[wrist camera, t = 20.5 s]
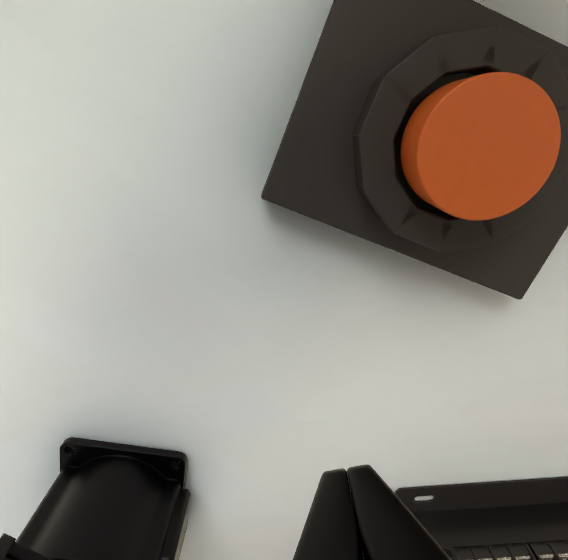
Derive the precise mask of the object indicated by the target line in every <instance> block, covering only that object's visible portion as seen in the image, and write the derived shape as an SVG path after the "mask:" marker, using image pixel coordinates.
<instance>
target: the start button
mask: <svg viewBox="0 0 568 560" xmlns="http://www.w3.org/2000/svg"><path fill="white" fill-rule="evenodd" d="M560 140H561V129H560V121H559V117H558V114H557V110H556V108H555V106H554V104H553V102H552V100H551V99H550V97H549V96H548V94H547V93H546V92H545V91H544V90H543V89H542V88H541V87H540V86H539V85H537V84H536V83H535V82H533V81H532V80H530V79H528V78H526V77H524V76H521V75H518V74H514V73H509V72H490V73H485V74H481V75H477V76H473V77H469V78H465V79H461V80H457V81H454V82H451V83H448V84H446V85H444V86H442V87H440V88H438V89H437V90H435V91H434V92H432V93H431V94H430V95H429V96H427V97H426V98H425V99H424V100H423V101H422V102H421V103H420V104H419V106H418V107H417V108H416V110H415V111H414V112H413V114H412V115H411V117H410V119H409V121H408V123H407V125H406V128H405V130H404V134H403V138H402V143H401V164H402V169H403V172H404V175H405V178H406V180H407V182H408V184H409V185H410V187H411V188H412V189H413V191H414V192H415V193H416V194H417V195H418V196H419V197H420V198H421V199H423V200H424V201H426V202H427V203H429V204H431V205H433V206H435V207H436V208H438V209H440V210H442V211H444V212H446V213H448V214H450V215H452V216H454V217H457V218H460V219H465V220H476V221H479V220H489V219H493V218H497V217H500V216H503V215H506V214H508V213H510V212H512V211H514V210H516V209H517V208H519V207H521V206H522V205H524V204H525V203H526V202H527V201H529V200H530V199H531V198H532V197H533V196H534V195H535V194H536V193H537V192H538V191H539V190H540V188H541V187H542V186H543V185H544V183H545V182H546V180H547V179H548V177H549V175H550V174H551V172H552V170H553V168H554V165H555V162H556V160H557V156H558V153H559V148H560Z"/></svg>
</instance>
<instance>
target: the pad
mask: <svg viewBox="0 0 568 560" xmlns="http://www.w3.org/2000/svg"><path fill="white" fill-rule="evenodd" d="M490 72H509V73H514V74H518V75H521V76H524V77H526V78H528V79H530V80H532V81H533V82H535V83H536V84H537V85H539V86H540V87H541V88H542V89H543V90H544V91H545V92H546V93H547V94H548V96H549V97H550V99H551V100H552V102H553V104H554V106H555V108H556V110H557V114H558V117H559V121H560V129H561V140H560V148H559V153H558V156H557V160H556V162H555V165H554V168H553V170H552V172H551V174H550V175H549V177H548V179H547V180H546V182H545V183H544V185H543V186H542V187H541V188H540V190H539V191H538V192H537V193H536V194H535V195H534V196H533V197H532V198H531V199H530V200H529V201H527V202H526V203H525V204H524V205H522V206H521V207H519V208H517V209H516V210H514V211H512V212H510V213H508V214H506V215H503V216H500V217H497V218H493V219H489V220H479V221H476V220H465V219H460V218H457V217H454V216H452V215H450V214H448V213H446V212H444V211H442V210H440V209H438V208H436V207H435V206H433V205H431V204H429V203H427V202H426V201H424V200H423V199H421V198H420V197H419V196H418V195H417V194H416V193H415V192H414V191H413V189H412V188H411V187H410V185H409V184H408V182H407V180H406V178H405V175H404V172H403V169H402V164H401V143H402V138H403V134H404V130H405V128H406V125H407V123H408V121H409V119H410V117H411V115H412V114H413V112H414V111H415V110H416V108H417V107H418V106H419V104H420V103H421V102H422V101H423V100H424V99H425V98H426V97H427V96H429V95H430V94H431V93H432V92H434V91H435V90H437V89H438V88H440V87H442V86H444V85H446V84H448V83H451V82H454V81H457V80H461V79H465V78H469V77H473V76H477V75H481V74H485V73H490ZM261 198H262V199H264V200H267V201H269V202H272V203H275V204H277V205H280V206H282V207H285V208H287V209H290V210H292V211H295V212H297V213H300V214H303V215H305V216H308V217H310V218H313V219H315V220H318V221H320V222H323V223H325V224H328V225H330V226H333V227H336V228H338V229H341V230H343V231H346V232H348V233H351V234H353V235H356V236H358V237H361V238H364V239H366V240H369V241H371V242H374V243H376V244H379V245H381V246H384V247H386V248H389V249H392V250H394V251H397V252H399V253H402V254H404V255H407V256H409V257H412V258H414V259H417V260H420V261H422V262H425V263H427V264H430V265H432V266H435V267H437V268H440V269H442V270H445V271H448V272H450V273H453V274H455V275H458V276H460V277H463V278H465V279H468V280H470V281H473V282H476V283H478V284H481V285H483V286H486V287H488V288H491V289H493V290H496V291H498V292H501V293H504V294H506V295H509V296H511V297H514V298H516V299H522V298H523V296H524V294H525V293H526V291H527V290H528V288H529V286H530V285H531V283H532V282H533V280H534V278H535V277H536V275H537V274H538V272H539V271H540V269H541V267H542V266H543V264H544V263H545V261H546V259H547V258H548V256H549V255H550V253H551V251H552V250H553V248H554V247H555V245H556V244H557V242H558V240H559V239H560V237H561V236H562V234H563V232H564V231H565V229H566V228H567V226H568V47H567V46H565V45H563V44H561V43H559V42H557V41H554V40H552V39H550V38H548V37H546V36H544V35H542V34H540V33H538V32H536V31H534V30H532V29H530V28H528V27H526V26H524V25H522V24H520V23H518V22H516V21H513V20H511V19H509V18H507V17H505V16H503V15H501V14H499V13H497V12H495V11H493V10H491V9H489V8H487V7H485V6H483V5H481V4H479V3H477V2H474V1H472V0H334V1H333V4H332V7H331V10H330V12H329V15H328V18H327V20H326V23H325V26H324V28H323V31H322V34H321V36H320V39H319V42H318V44H317V47H316V50H315V52H314V55H313V58H312V60H311V63H310V66H309V69H308V71H307V74H306V77H305V79H304V82H303V85H302V87H301V90H300V93H299V95H298V98H297V101H296V103H295V106H294V109H293V111H292V114H291V117H290V119H289V122H288V125H287V128H286V130H285V133H284V136H283V138H282V141H281V144H280V146H279V149H278V152H277V154H276V157H275V160H274V162H273V165H272V168H271V170H270V173H269V176H268V178H267V181H266V184H265V187H264V189H263V192H262V195H261Z"/></svg>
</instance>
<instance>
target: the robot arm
mask: <svg viewBox="0 0 568 560" xmlns="http://www.w3.org/2000/svg"><path fill="white" fill-rule="evenodd" d="M70 447H72V448H73V449H71V448H70ZM175 461H179V462H180V463H177V462H175ZM186 467H187V457H186V455H185V454H184V453H182V452H179V451H171V450H164V449H156V448H149V447H141V446H133V445H126V444H118V443H111V442H103V441H95V440H88V439H80V438H67V439H66V440H65V441H64V442H63V444H62V445H61V447H60V474H59V475H58V477H57V479H56V480H55V482H54V483H53V485H52V486H51V488H50V489H49V491H48V493H47V494H46V496H45V497H44V499H43V500H42V502H41V503H40V505H39V507H38V508H37V510H36V511H35V513H34V514H33V516H32V517H31V519H30V521H29V522H28V524H27V525H26V527H25V528H24V530H23V531H22V533H21V535H20V536H19V538H18V539H17V541H16V542H15V540H16V539H15V538H13V537H11V536H9V535H7V534H5V533H4V534H3V535H2V537H1V538H0V560H179V557H180V553H181V549H182V545H183V540H184V536H185V532H186V528H187V522H188V514H189V506H190V497H191V493H190V491H189V489H186V488H184V484H185V475H186ZM347 475H348V476H347ZM348 480H349V481H348ZM349 485H350V486H349ZM350 490H351V491H350ZM362 552H363V553H362ZM363 557H364V558H363ZM293 560H452V559H451V558H450V557H449V556H448V555H447V554H446V552H445V551H444V550H443V549H442V548H441V547H440V545H439V544H438V543H437V542H436V541H435V540H434V539H433V537H432V536H431V535H430V534H429V533H428V532H427V530H426V529H425V528H424V527H423V526H422V525H421V523H420V522H419V521H418V520H417V519H416V518H415V517H414V515H413V514H412V513H411V512H410V511H409V510H408V508H407V507H406V506H405V505H404V504H403V503H402V502H401V500H400V499H399V498H398V497H397V496H396V495H395V493H394V492H393V491H392V490H391V489H390V488H389V486H388V485H387V484H386V483H385V482H384V481H383V480H382V478H381V477H380V476H379V475H378V474H377V473H376V471H375V470H374V469H373V468H372V467H371V466H370V465H360V466H354V467H350V468H348V470H347V472H346V470H345V469H337V470H331V471H326V472H324V473H323V474H322V477H321V479H320V482H319V485H318V488H317V491H316V494H315V497H314V500H313V503H312V506H311V508H310V511H309V514H308V517H307V520H306V523H305V526H304V529H303V532H302V535H301V538H300V540H299V543H298V546H297V549H296V552H295V555H294V558H293Z"/></svg>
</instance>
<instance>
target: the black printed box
mask: <svg viewBox="0 0 568 560" xmlns="http://www.w3.org/2000/svg"><path fill="white" fill-rule="evenodd" d="M395 495H396V496H397V497H398V498H399V499H400V500H401V502H402V503H403V504H404V505H405V506H406V507H407V508H408V510H409V511H410V512H411V513H412V514H413V515H414V517H415V518H416V519H417V520H418V521H419V522H420V523H421V525H422V526H423V527H424V528H425V529H426V530H427V532H428V533H429V534H430V535H431V536H432V537H433V539H434V540H435V541H436V542H437V543H438V544H439V545H440V547H441V548H442V549H443V550H444V551H445V552H446V554H447V555H448V556H449V557H450V558H451V559H452V560H568V477H558V478H544V479H529V480H514V481H500V482H485V483H471V484H456V485H441V486H427V487H412V488H400V489H398V490H397V491H396V492H395ZM430 495H432V496H434V499H433V500H429V501H414V498H415V497H417V496H430Z"/></svg>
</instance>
